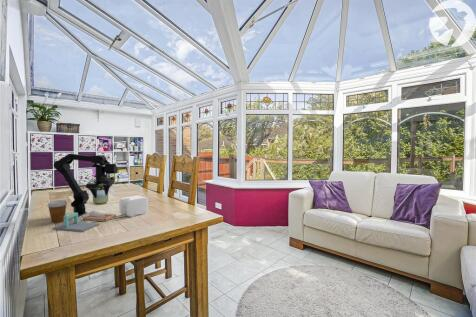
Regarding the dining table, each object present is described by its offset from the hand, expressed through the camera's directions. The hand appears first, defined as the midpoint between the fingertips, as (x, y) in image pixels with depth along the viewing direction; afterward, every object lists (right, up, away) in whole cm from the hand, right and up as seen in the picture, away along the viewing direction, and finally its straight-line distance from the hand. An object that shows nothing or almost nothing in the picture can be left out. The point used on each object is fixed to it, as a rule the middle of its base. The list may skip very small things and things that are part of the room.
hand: (101, 196), depth 157 cm
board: (+1, -13, -25) cm, 28 cm away
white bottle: (+4, -12, -10) cm, 16 cm away
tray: (+5, -13, -10) cm, 16 cm away
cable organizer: (+22, -12, 0) cm, 25 cm away
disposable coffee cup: (-18, -13, -15) cm, 27 cm away
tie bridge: (-3, -12, -24) cm, 27 cm away
